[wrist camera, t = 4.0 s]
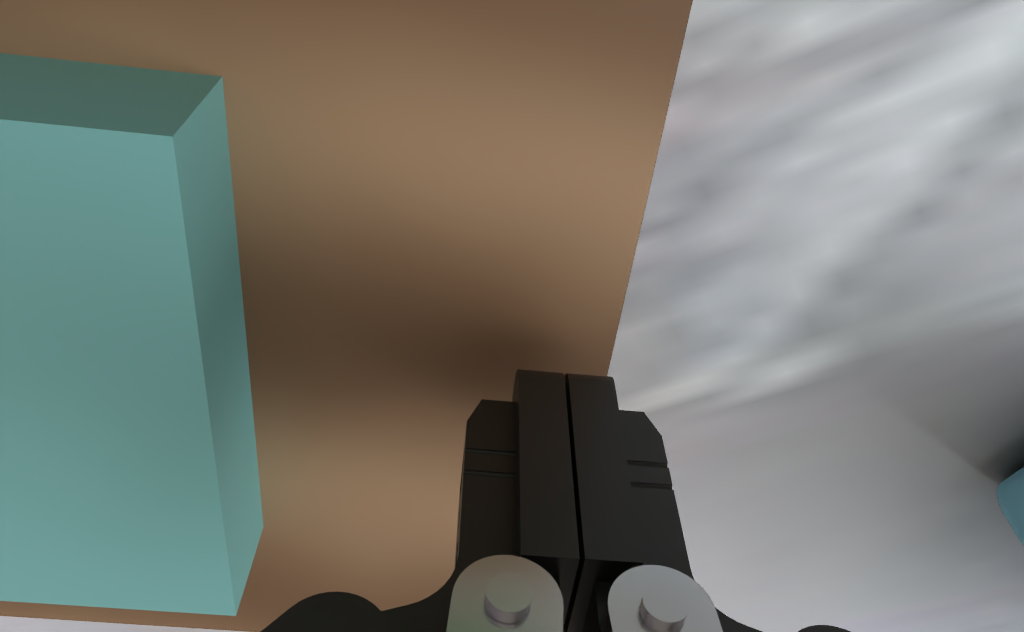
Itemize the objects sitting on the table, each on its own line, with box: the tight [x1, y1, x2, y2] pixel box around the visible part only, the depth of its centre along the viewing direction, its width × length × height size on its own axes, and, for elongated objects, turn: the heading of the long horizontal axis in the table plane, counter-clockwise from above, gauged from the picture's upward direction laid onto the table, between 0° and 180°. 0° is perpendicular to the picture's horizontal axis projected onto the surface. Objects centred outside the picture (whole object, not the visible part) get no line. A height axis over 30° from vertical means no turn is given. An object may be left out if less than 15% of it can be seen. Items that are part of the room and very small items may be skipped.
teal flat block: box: [0, 53, 263, 616], centre depth 13 cm, size 9×6×2 cm, turn 174°
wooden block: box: [0, 0, 693, 632], centre depth 15 cm, size 16×16×4 cm
